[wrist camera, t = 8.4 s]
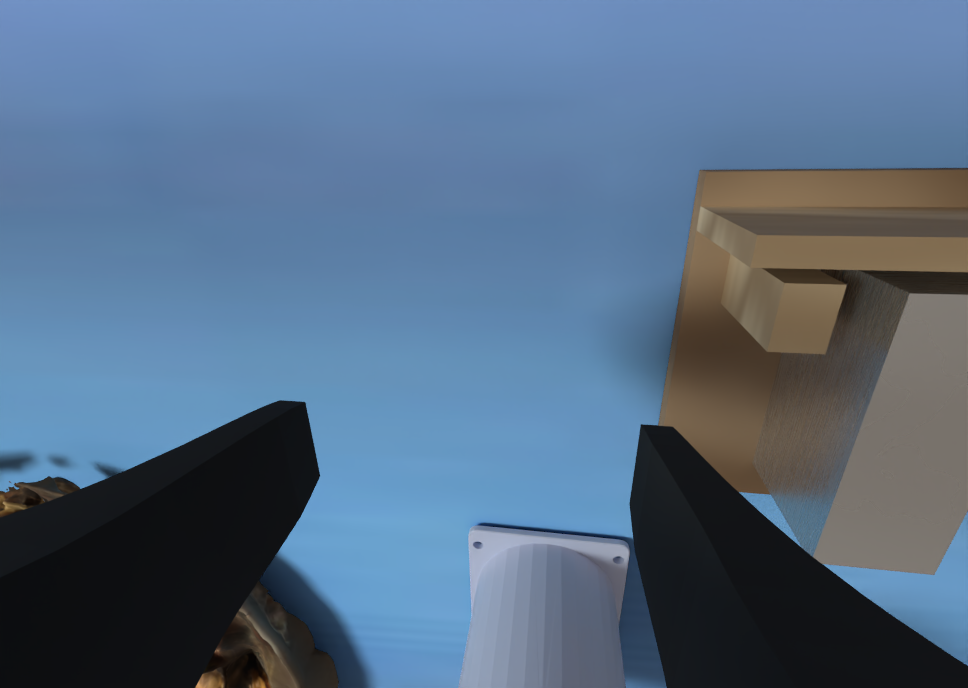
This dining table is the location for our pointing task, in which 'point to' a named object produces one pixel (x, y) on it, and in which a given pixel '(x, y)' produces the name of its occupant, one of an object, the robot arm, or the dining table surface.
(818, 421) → the gray rectangular block
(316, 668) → the food dish
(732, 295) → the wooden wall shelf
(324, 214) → the dining table surface
